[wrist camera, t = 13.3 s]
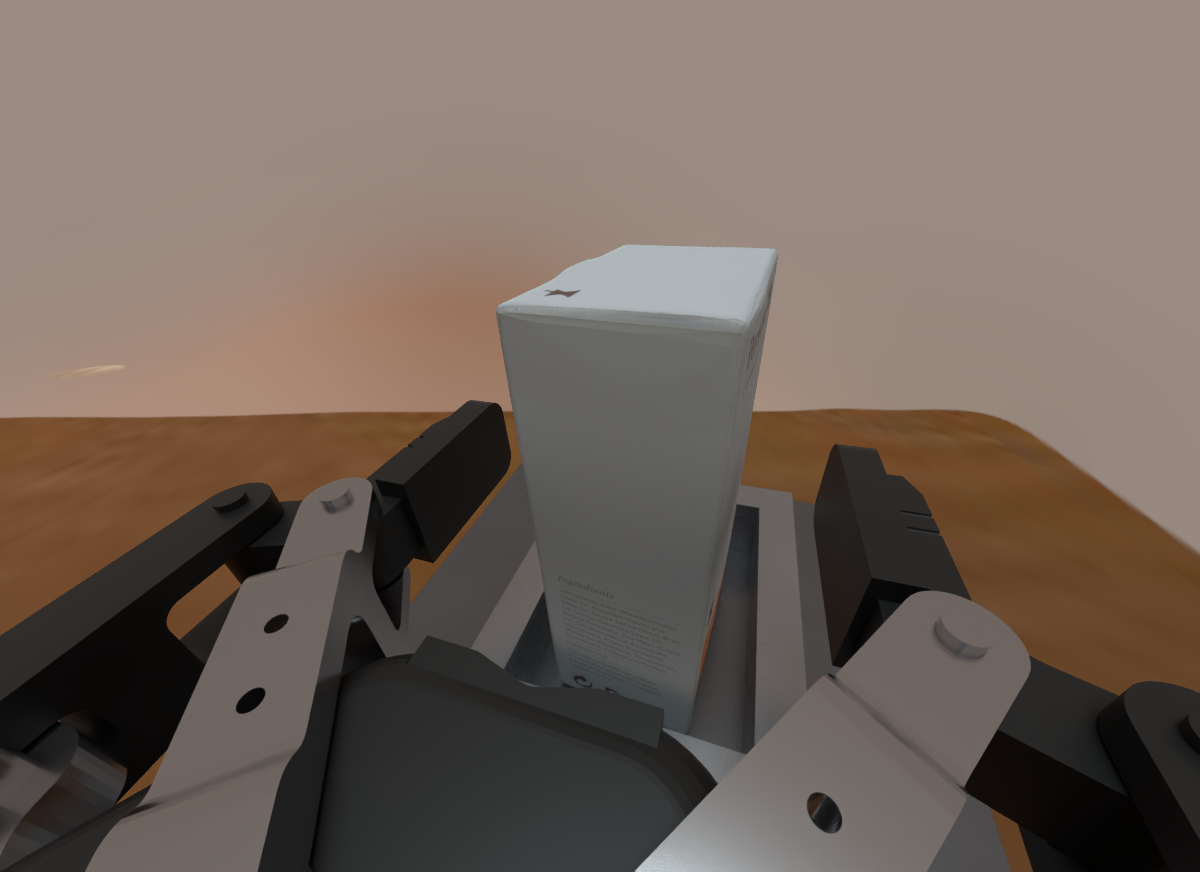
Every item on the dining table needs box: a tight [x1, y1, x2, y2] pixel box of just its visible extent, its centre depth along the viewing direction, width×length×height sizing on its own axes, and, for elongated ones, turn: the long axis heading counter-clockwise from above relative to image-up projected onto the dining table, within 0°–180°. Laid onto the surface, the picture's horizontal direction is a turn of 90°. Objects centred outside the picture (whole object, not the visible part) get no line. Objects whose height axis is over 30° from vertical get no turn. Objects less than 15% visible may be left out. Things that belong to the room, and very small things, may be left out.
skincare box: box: [496, 245, 778, 735], centre depth 12 cm, size 6×4×12 cm
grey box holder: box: [408, 464, 1012, 872], centre depth 15 cm, size 18×16×4 cm
